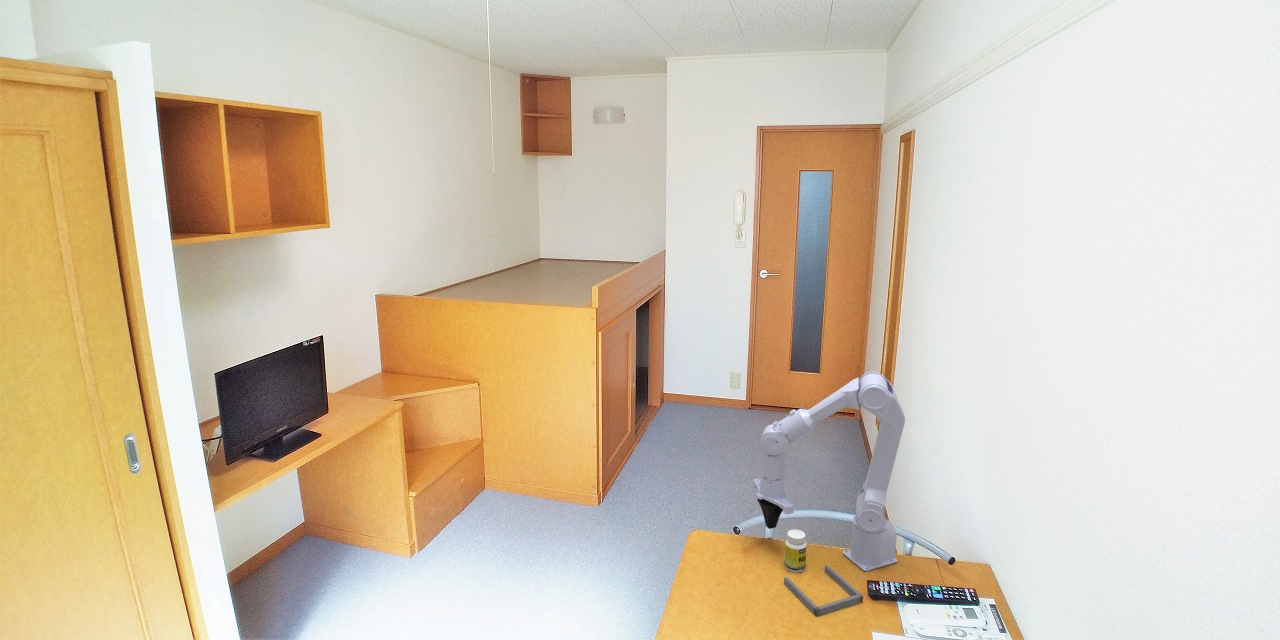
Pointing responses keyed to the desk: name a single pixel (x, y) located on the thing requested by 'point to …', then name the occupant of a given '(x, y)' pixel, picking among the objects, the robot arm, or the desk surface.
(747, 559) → the desk surface
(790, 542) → the supplement bottle
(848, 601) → the corral
